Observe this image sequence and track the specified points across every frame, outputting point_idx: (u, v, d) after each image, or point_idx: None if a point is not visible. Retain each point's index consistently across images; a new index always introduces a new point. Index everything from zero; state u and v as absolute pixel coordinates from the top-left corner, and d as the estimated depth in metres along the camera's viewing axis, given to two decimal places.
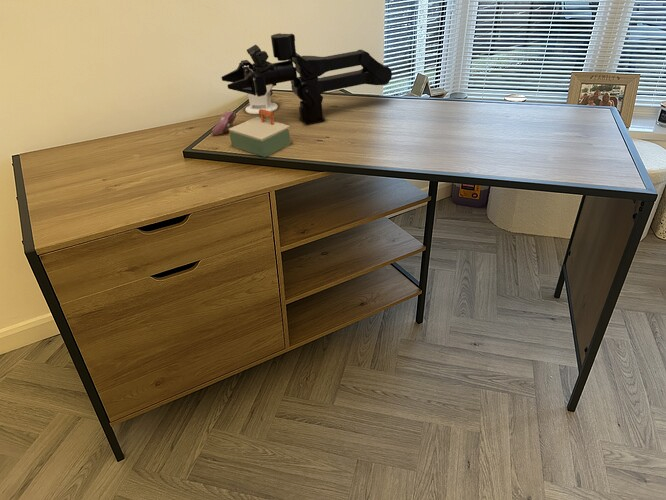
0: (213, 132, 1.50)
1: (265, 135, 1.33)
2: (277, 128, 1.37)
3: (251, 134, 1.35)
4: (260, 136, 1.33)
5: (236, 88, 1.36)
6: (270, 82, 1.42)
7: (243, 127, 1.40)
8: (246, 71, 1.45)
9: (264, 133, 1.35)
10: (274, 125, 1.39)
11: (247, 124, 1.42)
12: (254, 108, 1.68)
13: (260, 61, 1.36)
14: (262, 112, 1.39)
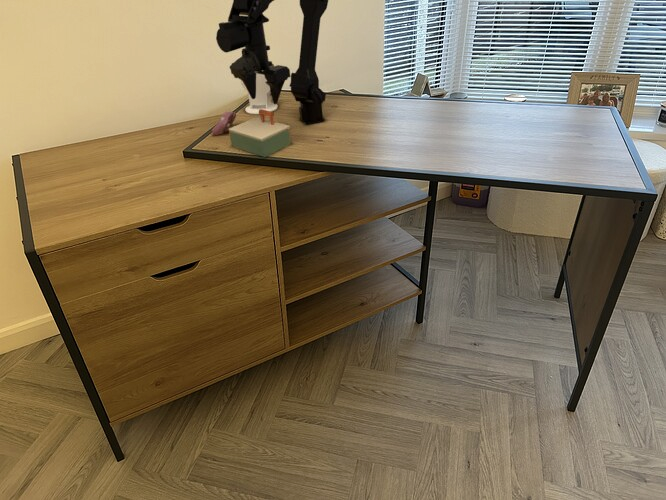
0: (213, 132, 1.50)
1: (265, 135, 1.33)
2: (277, 128, 1.37)
3: (251, 134, 1.35)
4: (260, 136, 1.33)
5: (278, 95, 1.33)
6: None
7: (243, 127, 1.40)
8: None
9: (264, 133, 1.35)
10: (274, 125, 1.39)
11: (247, 124, 1.42)
12: (254, 108, 1.68)
13: (254, 69, 1.26)
14: (262, 112, 1.39)
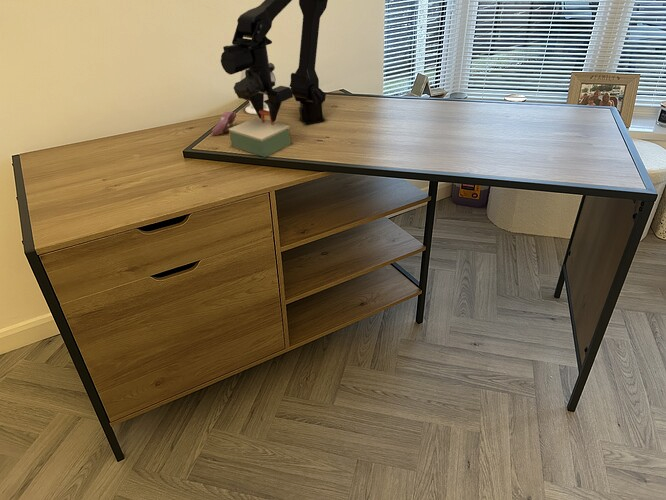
0: (213, 132, 1.50)
1: (265, 135, 1.33)
2: (277, 128, 1.37)
3: (251, 134, 1.35)
4: (260, 136, 1.33)
5: (276, 113, 1.38)
6: None
7: (243, 127, 1.40)
8: None
9: (264, 133, 1.35)
10: (274, 125, 1.39)
11: (247, 124, 1.42)
12: None
13: (258, 90, 1.29)
14: (262, 112, 1.39)
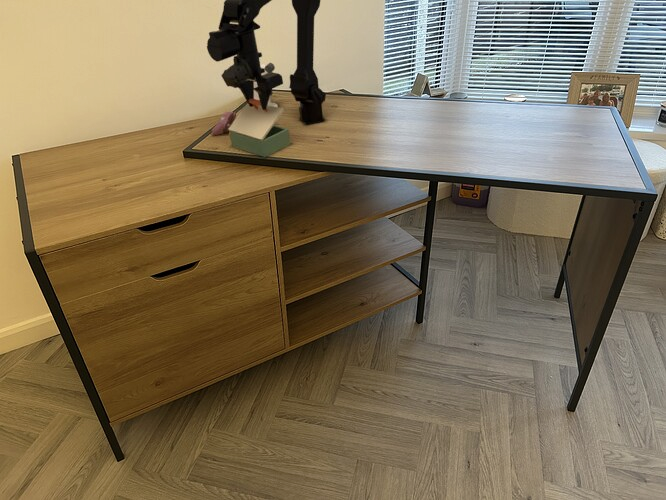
0: (213, 132, 1.50)
1: (263, 132, 1.33)
2: (271, 117, 1.34)
3: (250, 133, 1.35)
4: (259, 135, 1.32)
5: (266, 101, 1.33)
6: (259, 60, 1.28)
7: (241, 123, 1.38)
8: None
9: (262, 128, 1.33)
10: (268, 112, 1.36)
11: (243, 115, 1.40)
12: None
13: (246, 78, 1.25)
14: (252, 102, 1.35)
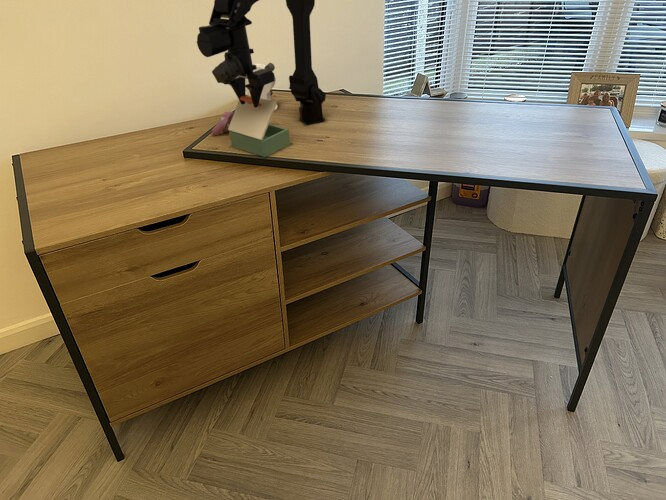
0: (213, 132, 1.50)
1: (261, 131, 1.32)
2: (266, 112, 1.32)
3: (249, 133, 1.34)
4: (258, 135, 1.32)
5: (258, 99, 1.31)
6: (250, 56, 1.26)
7: (238, 121, 1.38)
8: None
9: (259, 127, 1.33)
10: (262, 106, 1.33)
11: (239, 112, 1.38)
12: None
13: (237, 74, 1.22)
14: (244, 100, 1.33)
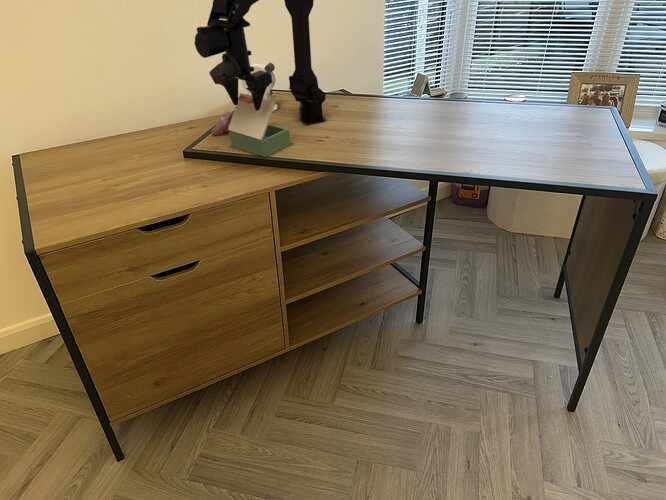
0: (213, 132, 1.50)
1: (261, 131, 1.32)
2: (265, 112, 1.32)
3: (249, 133, 1.34)
4: (258, 135, 1.32)
5: (260, 102, 1.29)
6: (248, 58, 1.25)
7: (238, 121, 1.37)
8: None
9: (259, 127, 1.32)
10: (261, 106, 1.33)
11: (238, 112, 1.38)
12: None
13: (235, 75, 1.22)
14: (243, 100, 1.33)
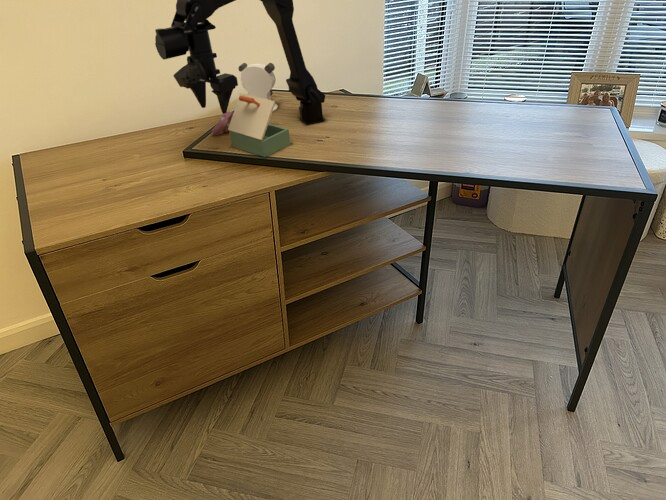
0: (213, 132, 1.50)
1: (261, 131, 1.32)
2: (265, 112, 1.32)
3: (249, 133, 1.34)
4: (258, 135, 1.32)
5: (226, 104, 1.28)
6: (213, 60, 1.24)
7: (238, 121, 1.37)
8: None
9: (259, 127, 1.32)
10: (261, 106, 1.33)
11: (238, 112, 1.38)
12: None
13: (199, 78, 1.21)
14: (243, 100, 1.33)
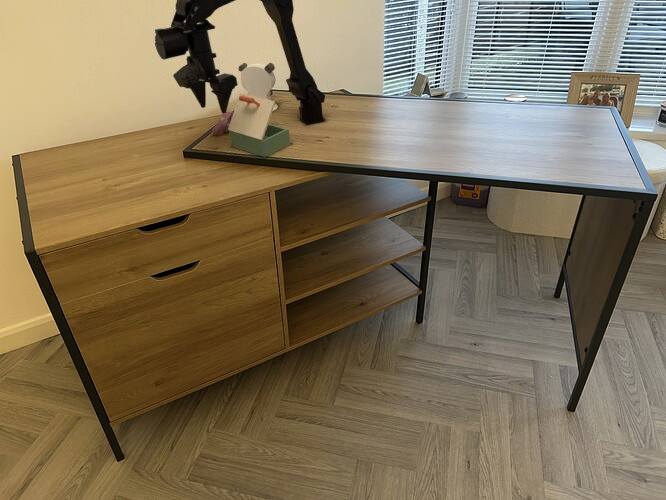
0: (213, 132, 1.50)
1: (261, 131, 1.32)
2: (265, 112, 1.32)
3: (249, 133, 1.34)
4: (258, 135, 1.32)
5: (226, 104, 1.28)
6: (213, 60, 1.25)
7: (238, 121, 1.37)
8: None
9: (259, 127, 1.32)
10: (261, 106, 1.33)
11: (238, 112, 1.38)
12: None
13: (198, 78, 1.21)
14: (243, 100, 1.33)
